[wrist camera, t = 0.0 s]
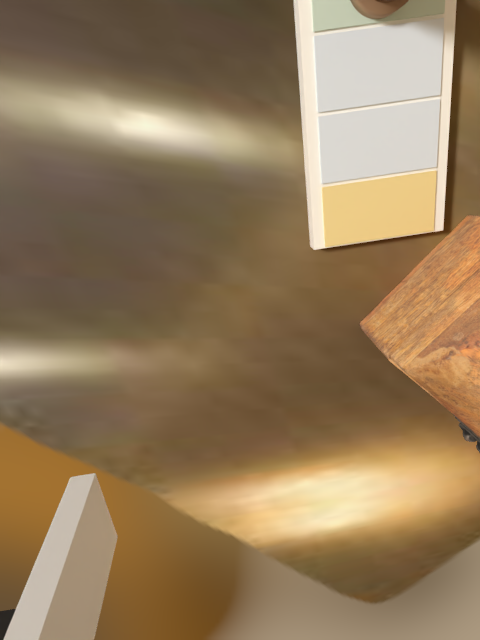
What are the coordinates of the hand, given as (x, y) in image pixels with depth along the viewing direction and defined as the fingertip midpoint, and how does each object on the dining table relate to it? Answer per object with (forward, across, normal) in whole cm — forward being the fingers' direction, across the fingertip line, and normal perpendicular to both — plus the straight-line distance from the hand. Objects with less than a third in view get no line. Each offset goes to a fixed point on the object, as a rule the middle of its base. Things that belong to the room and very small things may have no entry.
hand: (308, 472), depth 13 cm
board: (+28, +13, +11) cm, 33 cm away
